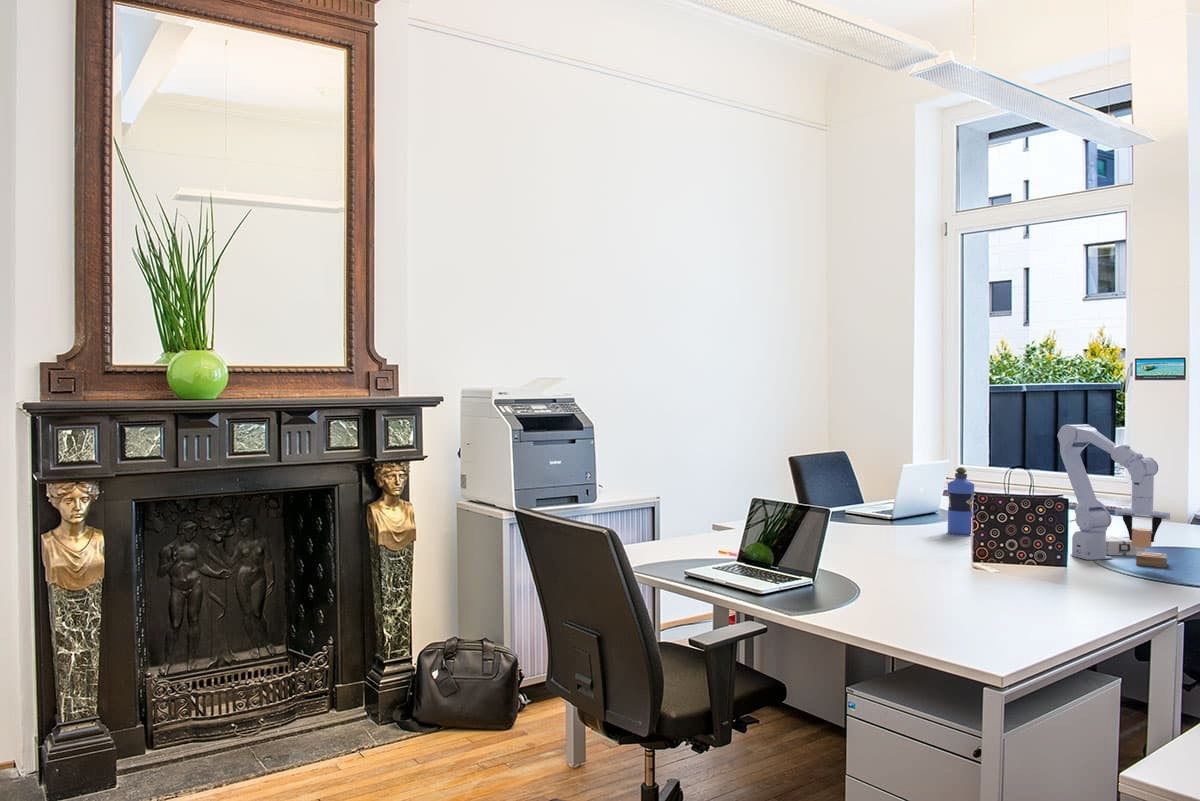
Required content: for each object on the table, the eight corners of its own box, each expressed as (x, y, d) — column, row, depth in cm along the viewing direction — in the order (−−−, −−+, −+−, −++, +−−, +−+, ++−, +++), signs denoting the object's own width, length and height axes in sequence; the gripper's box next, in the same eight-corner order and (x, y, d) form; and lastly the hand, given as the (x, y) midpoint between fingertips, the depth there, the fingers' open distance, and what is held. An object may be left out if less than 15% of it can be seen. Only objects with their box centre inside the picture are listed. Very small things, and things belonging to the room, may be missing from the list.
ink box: (1129, 550, 300) (1086, 550, 300) (1130, 536, 300) (1086, 536, 300) (1144, 556, 291) (1099, 555, 292) (1145, 541, 291) (1100, 541, 292)
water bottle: (975, 532, 335) (976, 467, 334) (971, 536, 327) (972, 469, 327) (949, 530, 340) (950, 466, 339) (945, 534, 332) (945, 468, 332)
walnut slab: (1166, 567, 273) (1166, 557, 273) (1136, 564, 277) (1136, 554, 277) (1166, 563, 280) (1166, 553, 280) (1136, 560, 284) (1137, 550, 284)
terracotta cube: (1150, 547, 270) (1151, 531, 270) (1131, 545, 273) (1132, 529, 272) (1151, 545, 274) (1151, 529, 274) (1132, 543, 277) (1132, 527, 277)
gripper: (1114, 496, 274) (1113, 540, 274) (1170, 500, 266) (1169, 545, 266) (1116, 494, 279) (1115, 536, 280) (1170, 497, 271) (1169, 541, 272)
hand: (1141, 540), depth 273 cm, fingers closed on terracotta cube, 5 cm apart
